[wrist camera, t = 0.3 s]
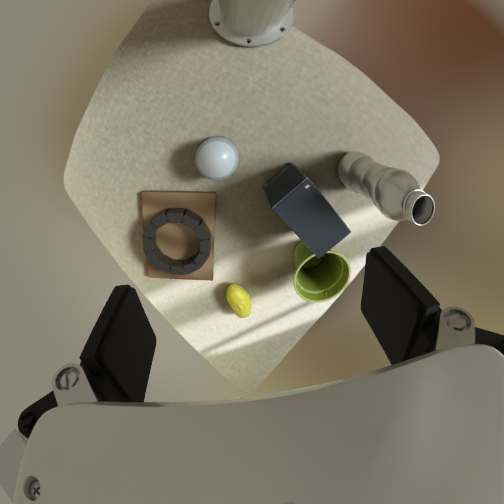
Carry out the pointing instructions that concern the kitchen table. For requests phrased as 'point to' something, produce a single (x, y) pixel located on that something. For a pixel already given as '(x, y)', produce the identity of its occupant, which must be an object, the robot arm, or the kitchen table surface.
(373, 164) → the plastic bottle
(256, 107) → the kitchen table surface
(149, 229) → the segmented ring
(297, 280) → the plant pot
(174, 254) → the board
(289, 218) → the small box
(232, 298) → the lemon
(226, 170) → the cap
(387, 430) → the robot arm
